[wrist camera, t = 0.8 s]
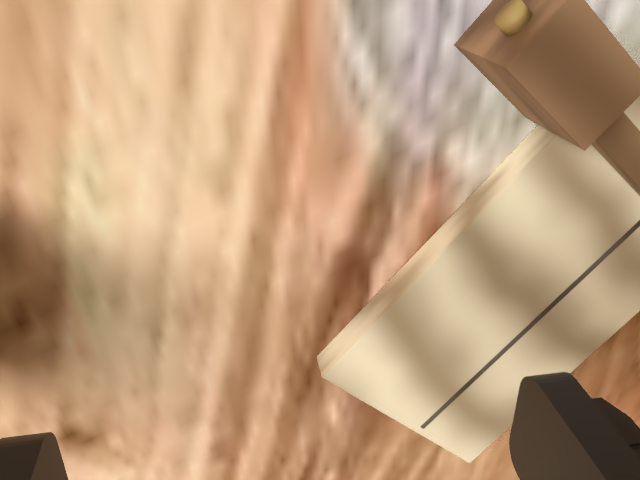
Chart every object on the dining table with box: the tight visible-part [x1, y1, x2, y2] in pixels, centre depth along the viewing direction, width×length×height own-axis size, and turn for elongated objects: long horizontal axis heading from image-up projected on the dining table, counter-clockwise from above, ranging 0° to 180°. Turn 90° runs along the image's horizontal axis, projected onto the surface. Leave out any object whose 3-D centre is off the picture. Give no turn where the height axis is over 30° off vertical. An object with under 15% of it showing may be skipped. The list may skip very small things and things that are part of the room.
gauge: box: [454, 0, 640, 196], centre depth 31 cm, size 4×17×6 cm, turn 49°
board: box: [317, 96, 640, 463], centre depth 37 cm, size 24×14×2 cm, turn 139°
